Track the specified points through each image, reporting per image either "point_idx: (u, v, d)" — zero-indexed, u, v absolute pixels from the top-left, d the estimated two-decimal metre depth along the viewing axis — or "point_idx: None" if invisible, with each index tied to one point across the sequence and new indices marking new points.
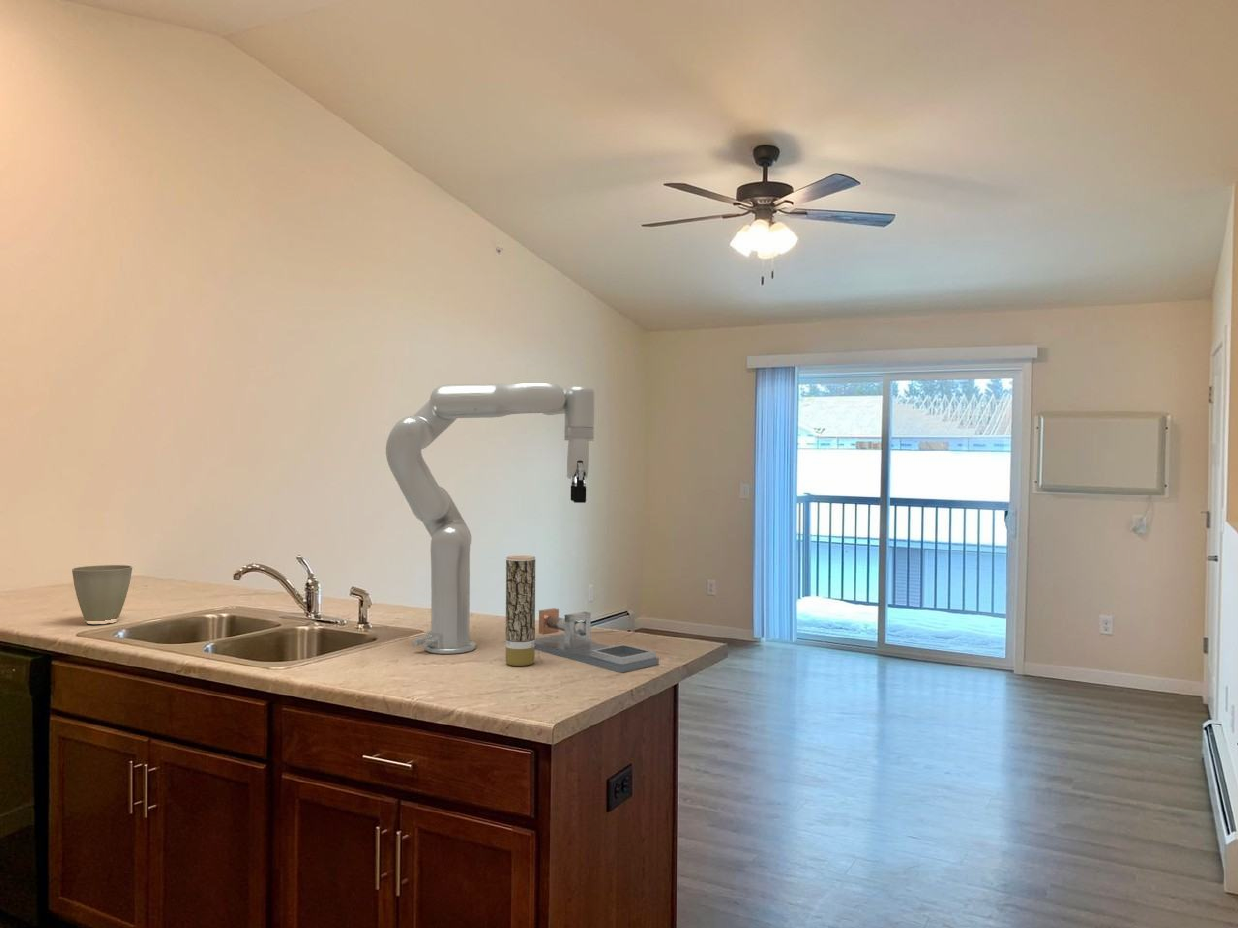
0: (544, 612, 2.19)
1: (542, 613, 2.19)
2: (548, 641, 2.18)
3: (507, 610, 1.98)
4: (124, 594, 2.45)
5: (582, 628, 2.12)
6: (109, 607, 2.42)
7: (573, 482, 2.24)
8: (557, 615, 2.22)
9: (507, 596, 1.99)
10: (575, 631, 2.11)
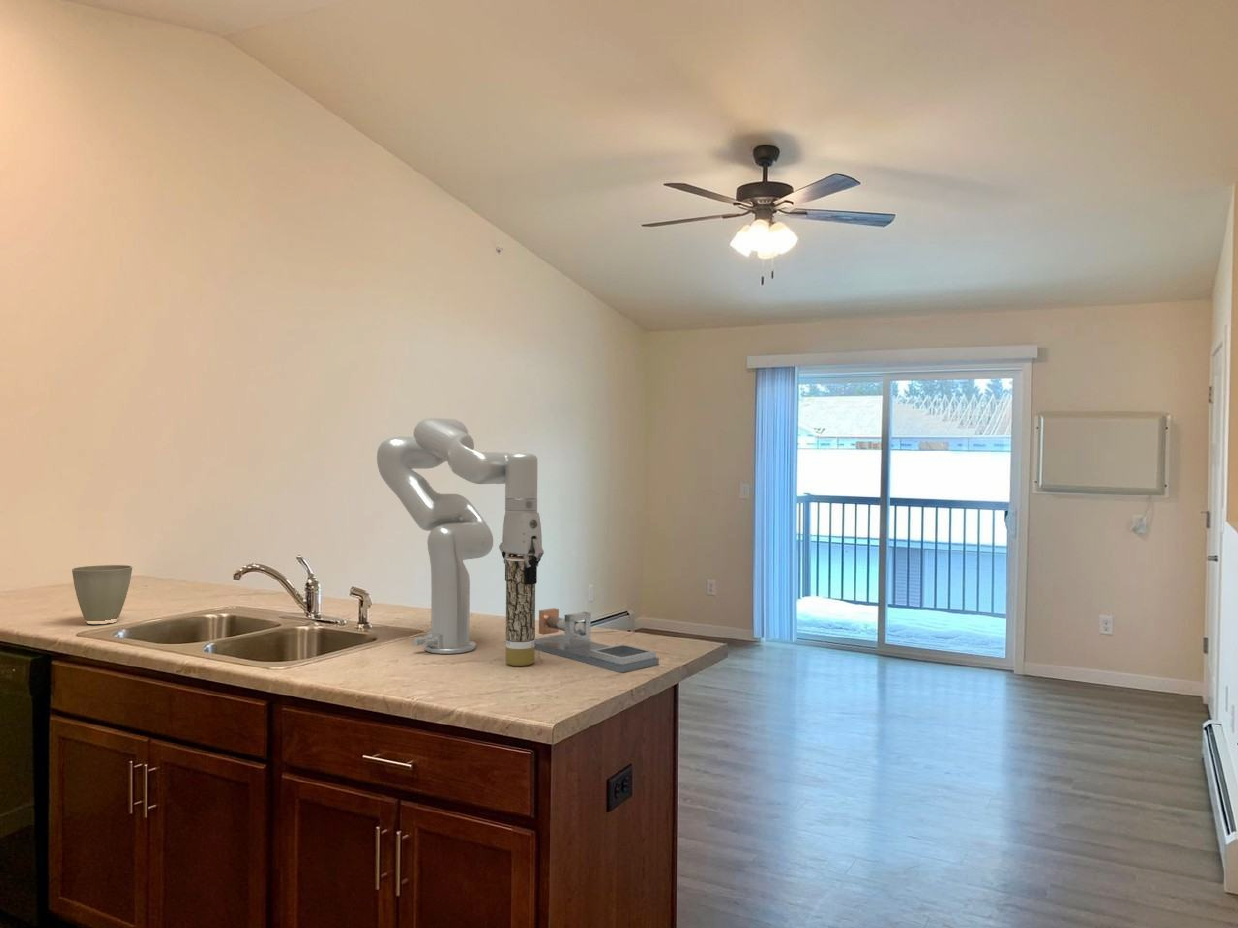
0: (544, 612, 2.19)
1: (542, 613, 2.19)
2: (548, 641, 2.18)
3: (507, 610, 1.98)
4: (124, 594, 2.45)
5: (582, 628, 2.12)
6: (109, 607, 2.42)
7: None
8: (557, 615, 2.22)
9: (507, 596, 1.99)
10: (575, 631, 2.11)
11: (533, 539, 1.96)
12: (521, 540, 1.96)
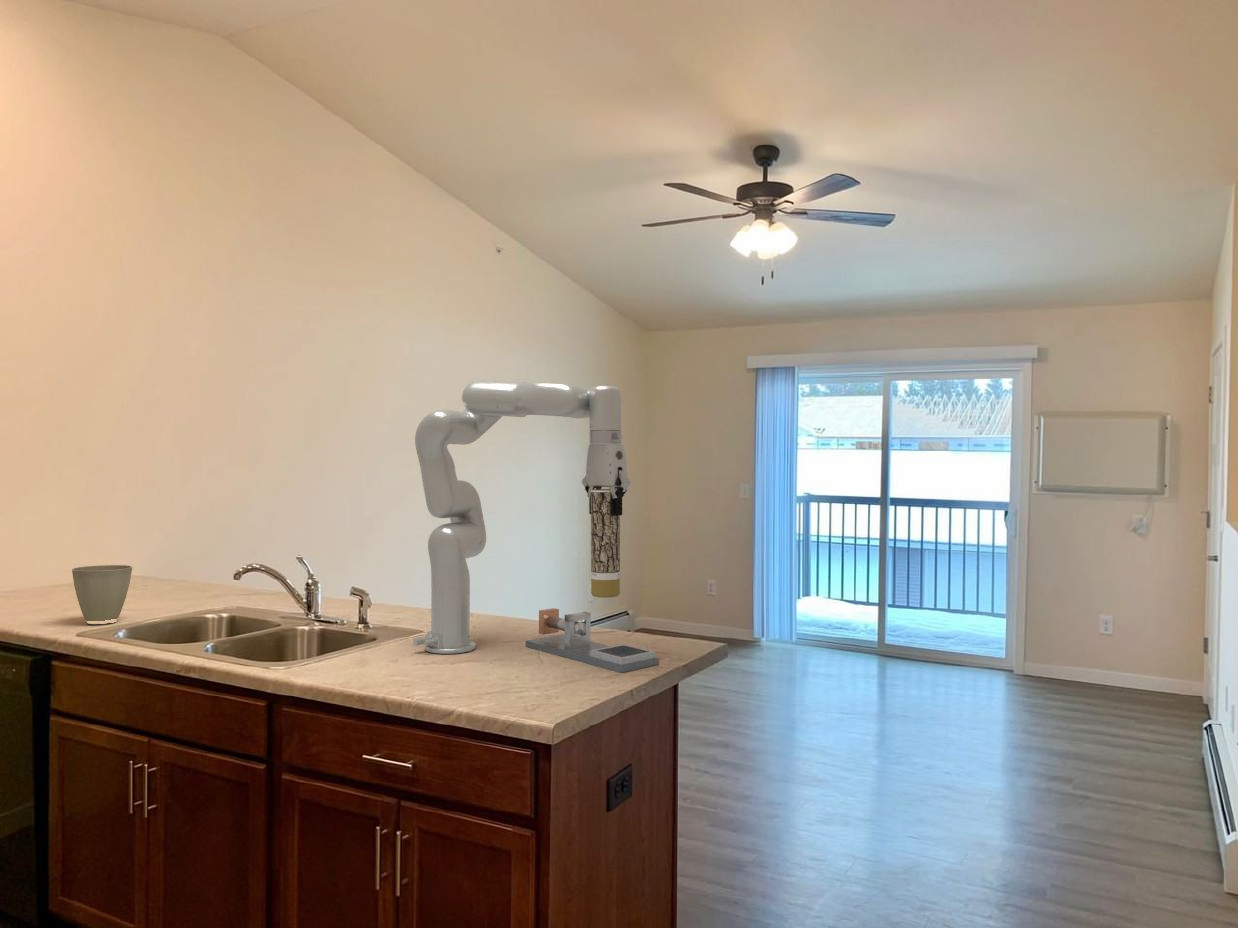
0: (544, 612, 2.19)
1: (542, 613, 2.19)
2: (548, 641, 2.18)
3: (593, 542, 1.99)
4: (124, 594, 2.45)
5: (582, 628, 2.12)
6: (109, 607, 2.42)
7: None
8: (557, 615, 2.22)
9: (592, 528, 1.99)
10: (575, 631, 2.11)
11: (619, 470, 1.97)
12: (607, 471, 1.97)
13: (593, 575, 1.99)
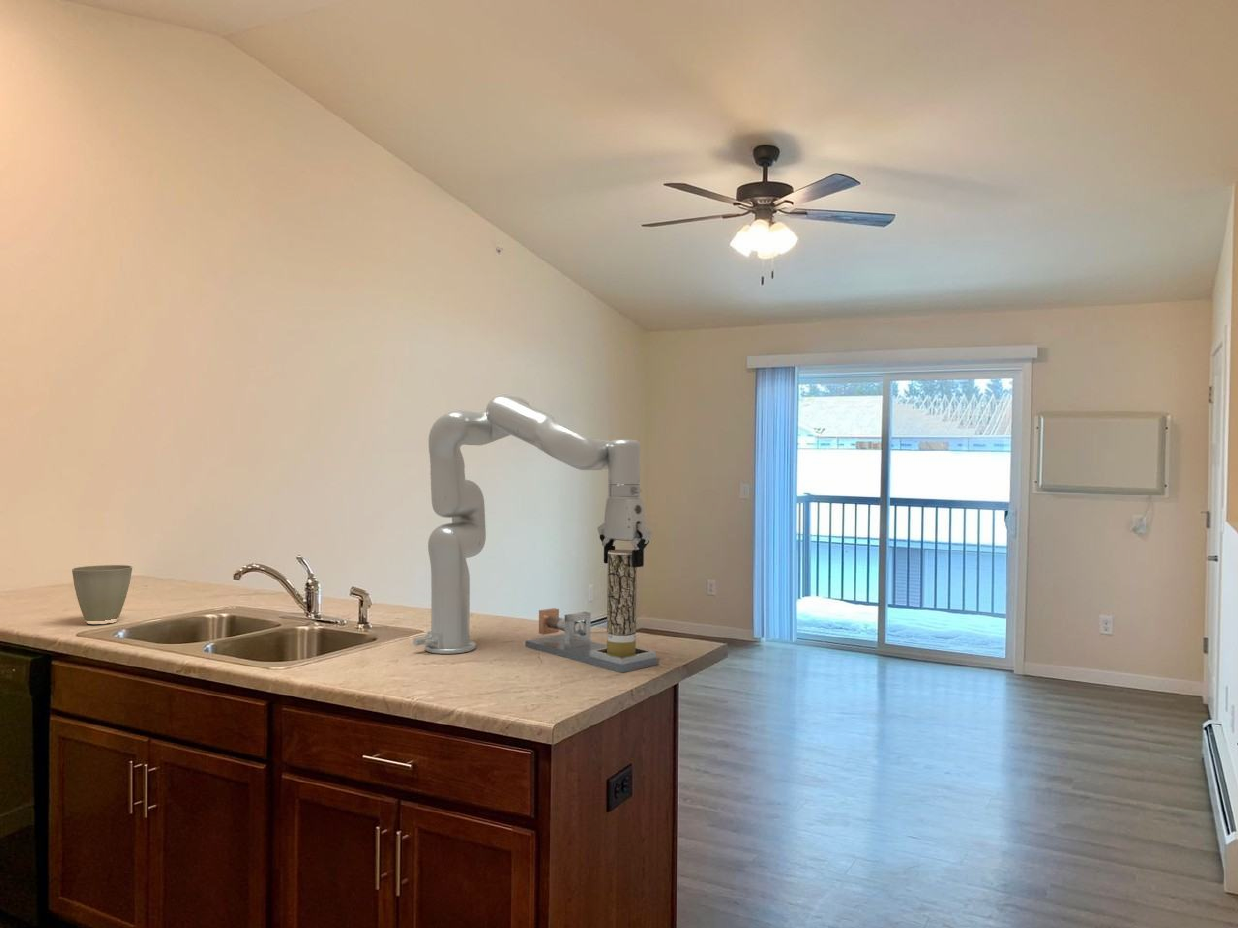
0: (544, 612, 2.19)
1: (542, 613, 2.19)
2: (548, 641, 2.18)
3: (609, 604, 1.99)
4: (124, 594, 2.45)
5: (582, 628, 2.12)
6: (109, 607, 2.42)
7: None
8: (557, 615, 2.22)
9: (609, 590, 1.99)
10: (575, 631, 2.11)
11: (638, 523, 1.97)
12: (626, 526, 1.97)
13: (609, 637, 1.99)
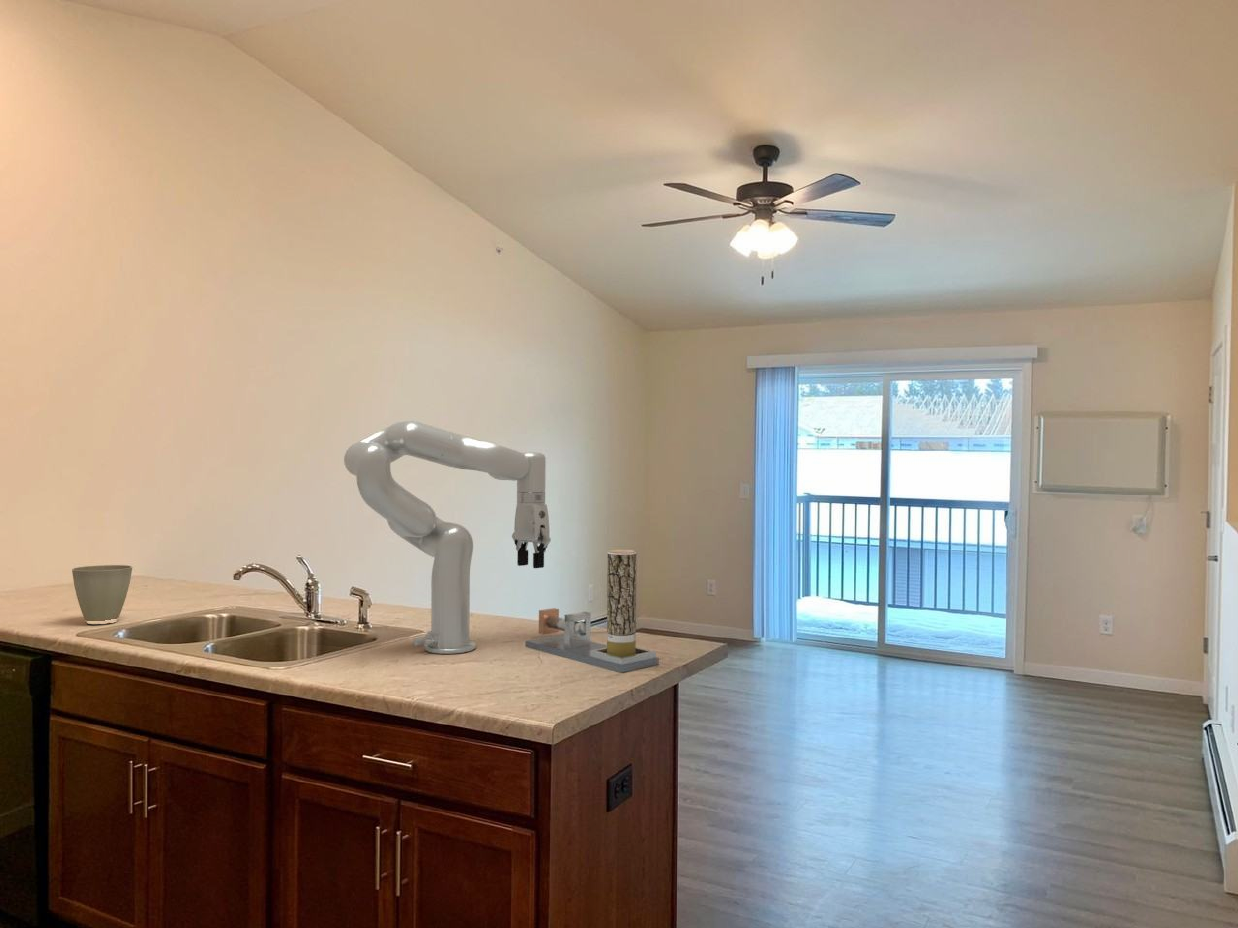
0: (544, 612, 2.19)
1: (542, 613, 2.19)
2: (548, 641, 2.18)
3: (609, 604, 1.99)
4: (124, 594, 2.45)
5: (582, 628, 2.12)
6: (109, 607, 2.42)
7: None
8: (557, 615, 2.22)
9: (609, 590, 1.99)
10: (575, 631, 2.11)
11: (542, 528, 2.23)
12: (531, 528, 2.23)
13: (609, 637, 1.99)
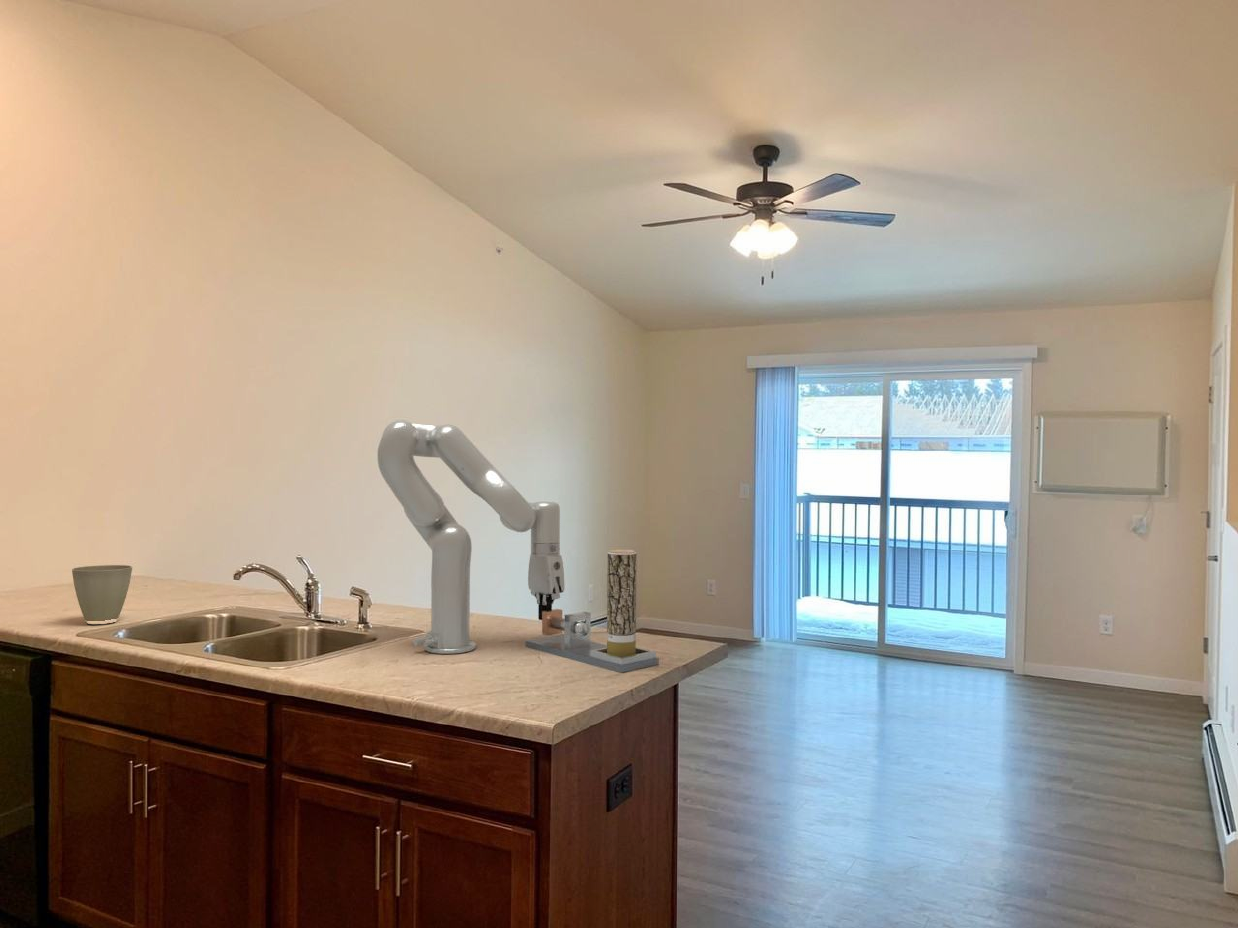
0: (547, 613, 2.18)
1: (545, 614, 2.18)
2: (548, 641, 2.18)
3: (609, 604, 1.99)
4: (124, 594, 2.45)
5: (586, 629, 2.11)
6: (109, 607, 2.42)
7: None
8: (560, 616, 2.21)
9: (609, 590, 1.99)
10: (579, 632, 2.10)
11: (555, 582, 2.19)
12: (546, 580, 2.19)
13: (609, 637, 1.99)
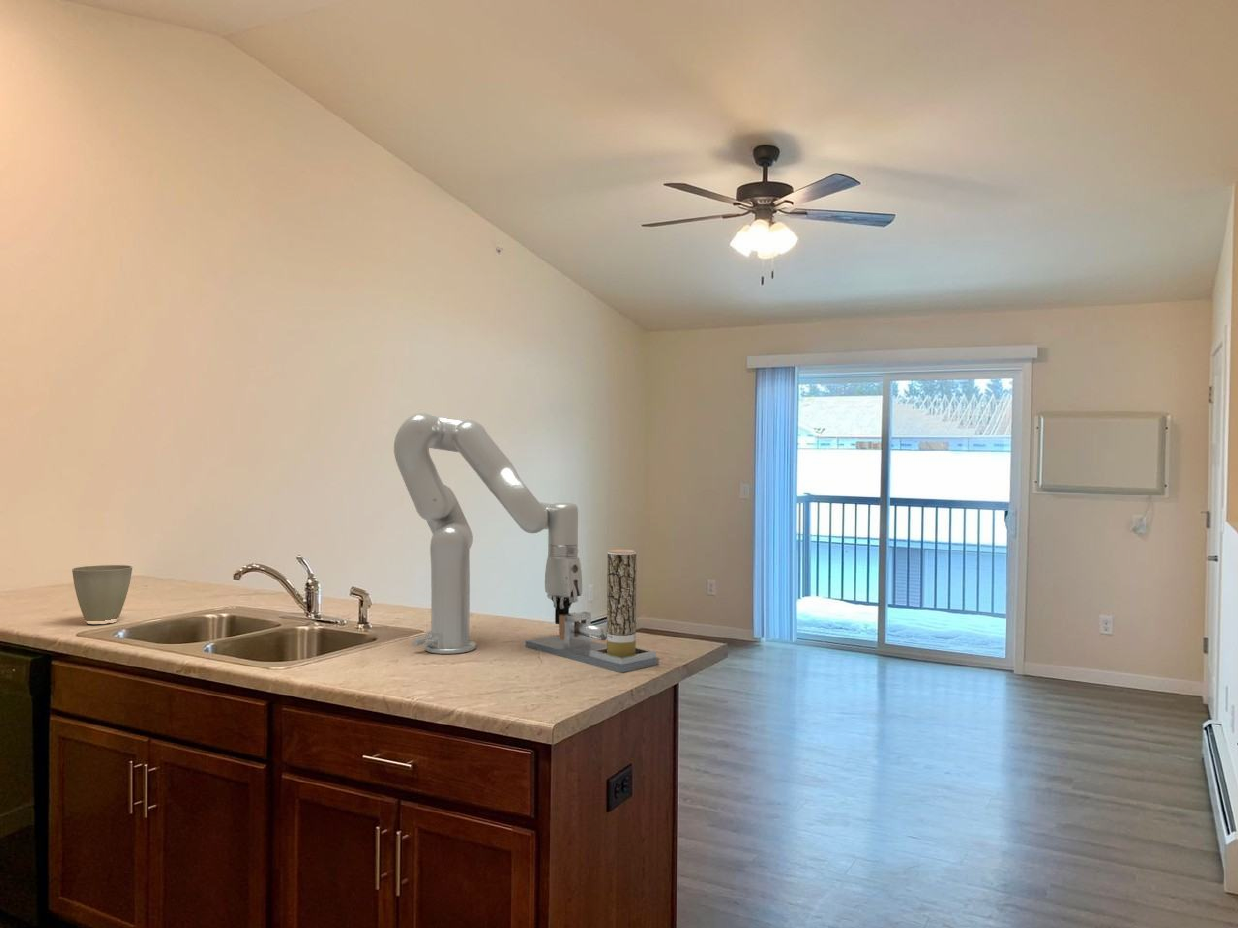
0: None
1: (563, 617, 2.13)
2: (548, 641, 2.18)
3: (609, 604, 1.99)
4: (124, 594, 2.45)
5: (605, 633, 2.06)
6: (109, 607, 2.42)
7: None
8: None
9: (609, 590, 1.99)
10: (597, 636, 2.05)
11: (573, 585, 2.14)
12: (564, 583, 2.14)
13: (609, 637, 1.99)
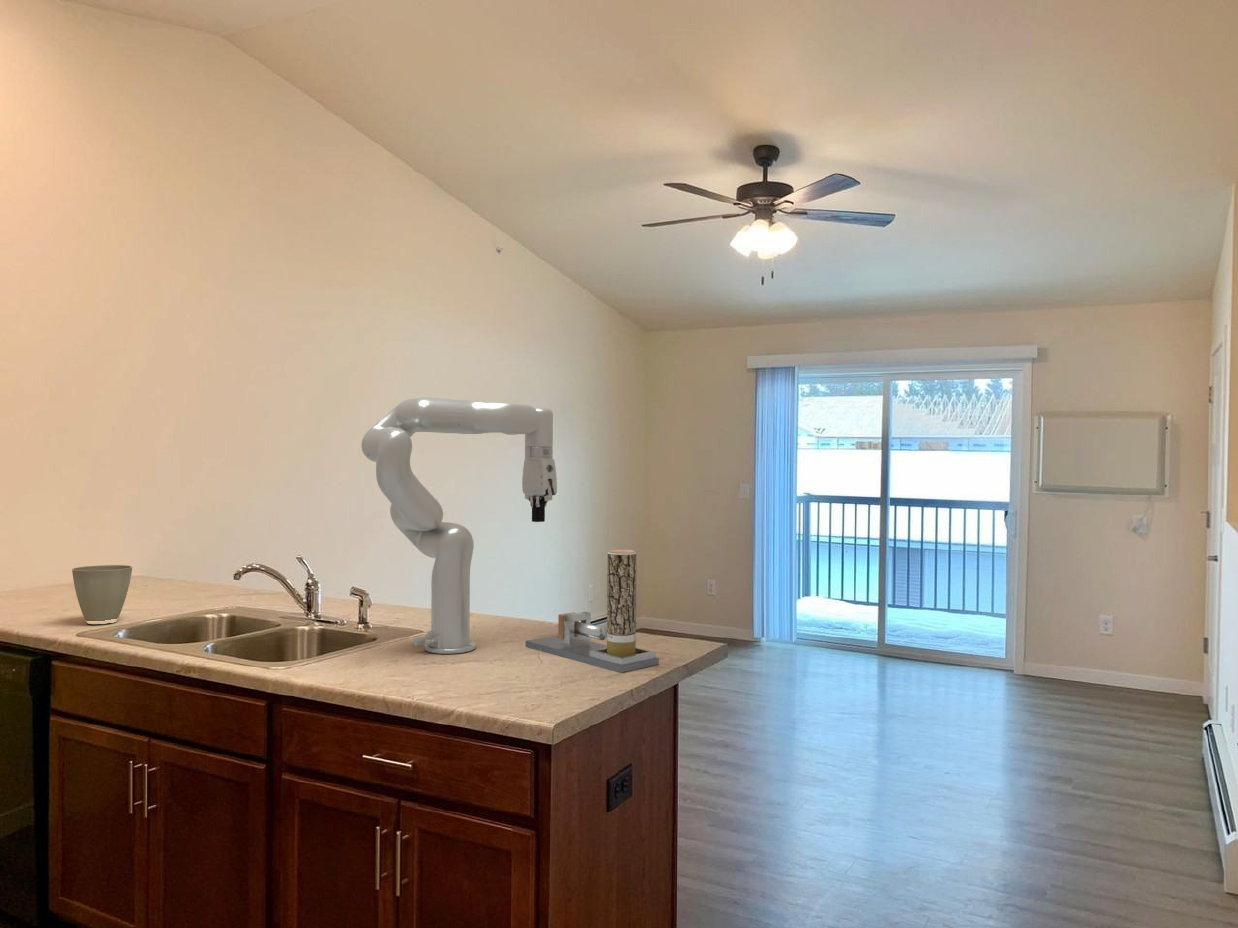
0: (564, 616, 2.13)
1: (562, 617, 2.13)
2: (548, 641, 2.18)
3: (609, 604, 1.99)
4: (124, 594, 2.45)
5: (604, 633, 2.06)
6: (109, 607, 2.42)
7: None
8: None
9: (609, 590, 1.99)
10: (596, 636, 2.06)
11: (548, 484, 2.28)
12: (539, 482, 2.27)
13: (609, 637, 1.99)
